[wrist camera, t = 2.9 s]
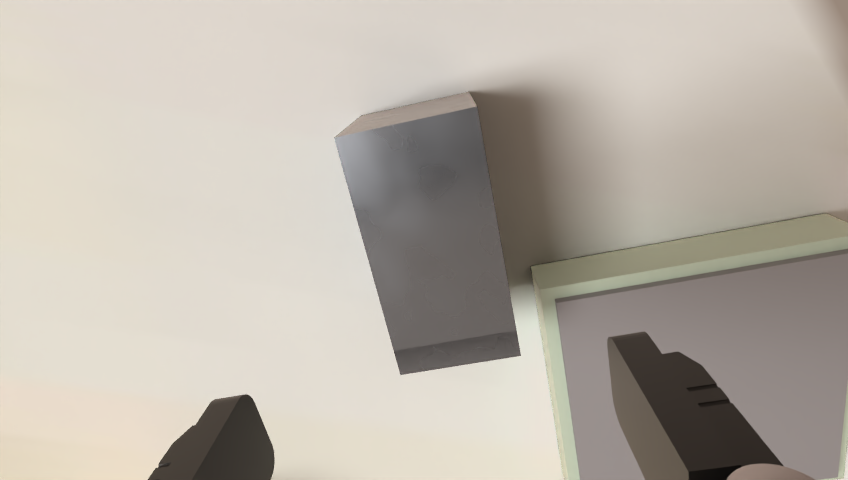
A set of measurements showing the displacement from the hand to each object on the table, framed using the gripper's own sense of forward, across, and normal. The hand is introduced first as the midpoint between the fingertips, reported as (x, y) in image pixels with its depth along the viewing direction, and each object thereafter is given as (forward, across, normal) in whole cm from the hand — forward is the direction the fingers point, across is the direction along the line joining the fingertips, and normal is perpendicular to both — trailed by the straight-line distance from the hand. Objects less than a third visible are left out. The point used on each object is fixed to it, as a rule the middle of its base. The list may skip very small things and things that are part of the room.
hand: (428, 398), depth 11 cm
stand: (+14, -11, +11) cm, 21 cm away
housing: (+14, 0, 0) cm, 14 cm away
